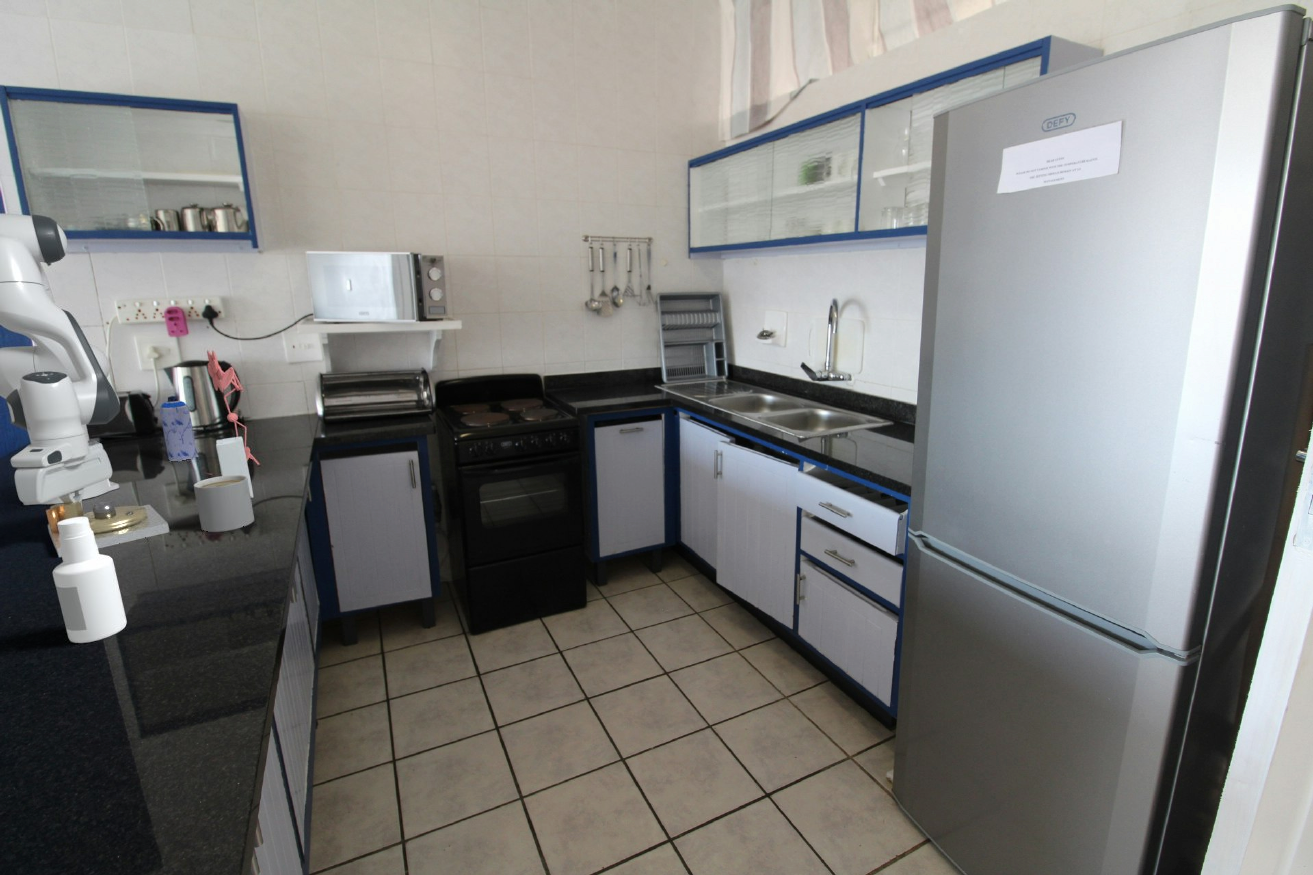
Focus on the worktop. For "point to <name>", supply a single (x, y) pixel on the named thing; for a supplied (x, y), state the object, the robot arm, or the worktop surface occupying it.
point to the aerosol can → (178, 430)
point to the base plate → (133, 532)
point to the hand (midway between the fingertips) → (75, 510)
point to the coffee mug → (224, 503)
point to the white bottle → (87, 585)
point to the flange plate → (117, 519)
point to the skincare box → (233, 458)
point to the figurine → (223, 382)
